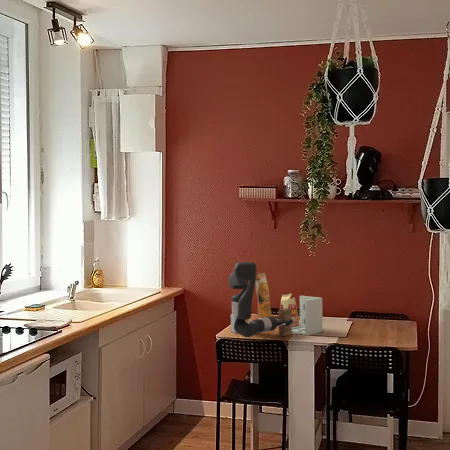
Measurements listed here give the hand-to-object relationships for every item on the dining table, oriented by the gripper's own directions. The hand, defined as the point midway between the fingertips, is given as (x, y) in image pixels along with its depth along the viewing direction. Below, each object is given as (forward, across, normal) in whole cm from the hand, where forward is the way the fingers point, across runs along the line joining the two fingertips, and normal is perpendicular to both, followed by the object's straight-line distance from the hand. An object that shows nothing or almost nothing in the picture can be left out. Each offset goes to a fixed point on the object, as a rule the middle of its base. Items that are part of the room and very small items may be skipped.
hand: (286, 320), depth 388 cm
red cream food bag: (+17, +14, +8) cm, 23 cm away
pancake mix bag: (+31, +46, +8) cm, 56 cm away
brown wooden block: (-1, 0, +8) cm, 8 cm away
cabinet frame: (+12, -3, +8) cm, 14 cm away
